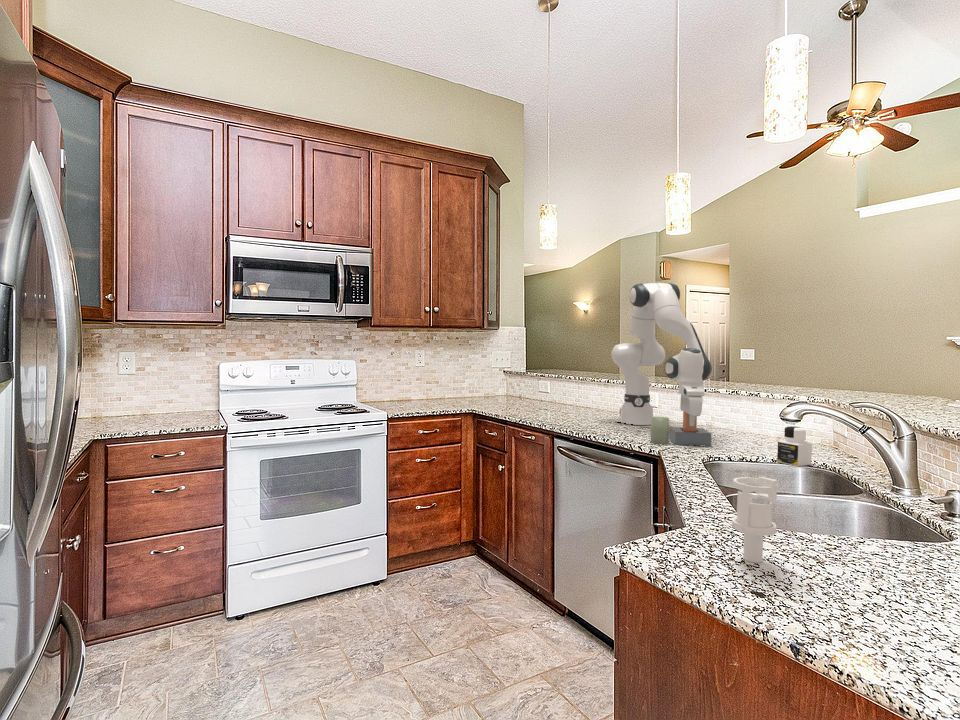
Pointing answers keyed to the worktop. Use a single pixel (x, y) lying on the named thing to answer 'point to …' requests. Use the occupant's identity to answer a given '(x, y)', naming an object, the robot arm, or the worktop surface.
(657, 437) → the green rectangular block
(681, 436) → the bore block
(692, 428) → the square bit
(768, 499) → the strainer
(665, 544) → the worktop surface
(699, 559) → the worktop surface
